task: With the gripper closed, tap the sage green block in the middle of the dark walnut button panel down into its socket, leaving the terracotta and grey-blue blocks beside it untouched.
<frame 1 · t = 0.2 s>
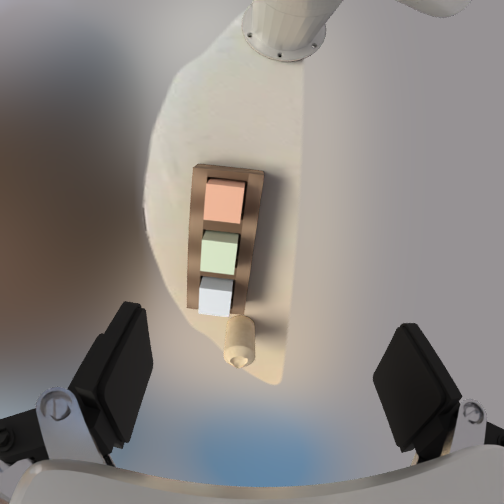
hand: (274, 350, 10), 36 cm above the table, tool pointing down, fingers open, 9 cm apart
button panel: (222, 239, 47), on the table
sage button: (219, 251, 43), point 5 cm above the table, slide at 0.0 cm
terracotta button: (224, 199, 39), point 5 cm above the table, slide at 0.0 cm
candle: (240, 325, 55), on the table
greyblue button: (216, 295, 46), point 5 cm above the table, slide at 0.0 cm
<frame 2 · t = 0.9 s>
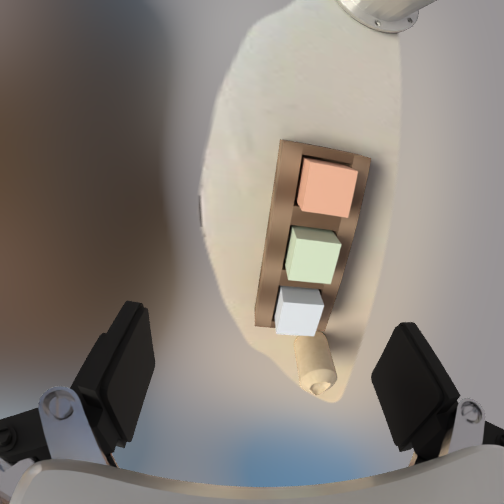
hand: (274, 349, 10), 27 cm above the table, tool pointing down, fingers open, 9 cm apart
button panel: (304, 237, 37), on the table
sage button: (311, 253, 32), point 5 cm above the table, slide at 0.0 cm
terracotta button: (325, 186, 29), point 5 cm above the table, slide at 0.0 cm
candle: (310, 341, 45), on the table
greyblue button: (297, 309, 36), point 5 cm above the table, slide at 0.0 cm
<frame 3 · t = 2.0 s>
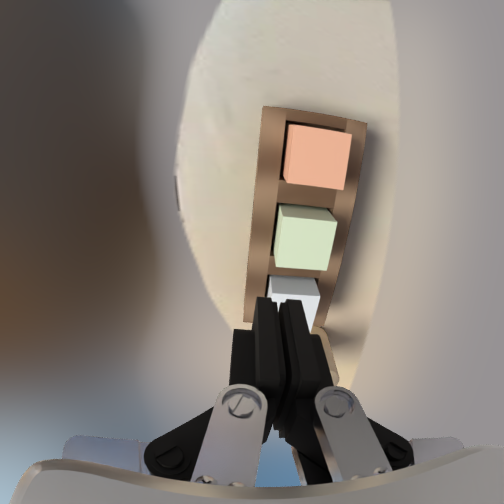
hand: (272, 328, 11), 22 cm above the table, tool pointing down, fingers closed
button panel: (296, 219, 32), on the table
sage button: (302, 235, 28), point 5 cm above the table, slide at 0.0 cm
terracotta button: (314, 154, 24), point 5 cm above the table, slide at 0.0 cm
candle: (308, 338, 40), on the table
greyblue button: (290, 301, 31), point 5 cm above the table, slide at 0.0 cm
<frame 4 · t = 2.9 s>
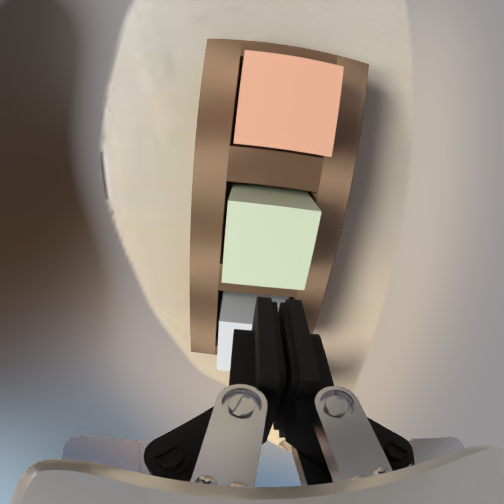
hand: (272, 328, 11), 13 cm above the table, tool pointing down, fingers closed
button panel: (264, 210, 22), on the table
sage button: (267, 233, 18), point 5 cm above the table, slide at 0.0 cm
terracotta button: (285, 104, 14), point 5 cm above the table, slide at 0.0 cm
greyblue button: (252, 330, 21), point 5 cm above the table, slide at 0.0 cm
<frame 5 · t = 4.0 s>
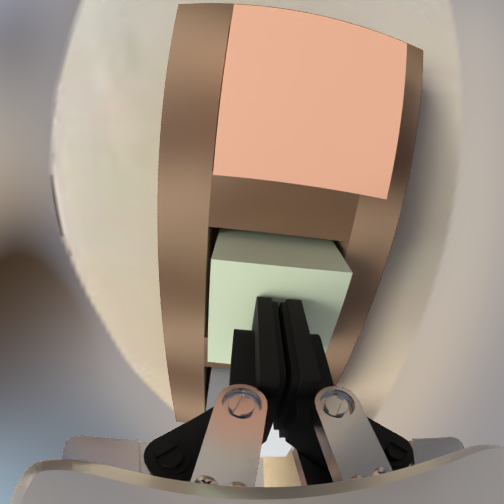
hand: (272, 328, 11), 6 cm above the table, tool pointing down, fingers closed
button panel: (266, 256, 16), on the table
sage button: (270, 292, 13), point 4 cm above the table, slide at 1.0 cm, touching gripper
terracotta button: (303, 102, 8), point 5 cm above the table, slide at 0.0 cm
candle: (290, 422, 24), on the table
greyblue button: (251, 409, 15), point 5 cm above the table, slide at 0.0 cm
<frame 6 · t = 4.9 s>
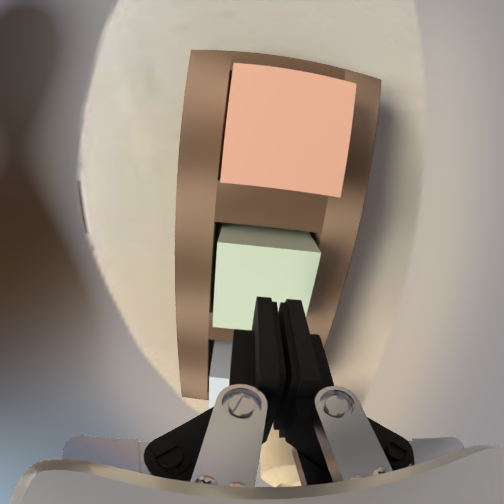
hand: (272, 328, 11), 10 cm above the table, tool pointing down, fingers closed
button panel: (259, 248, 20), on the table
sage button: (261, 272, 16), point 4 cm above the table, slide at 1.1 cm
terracotta button: (283, 129, 12), point 5 cm above the table, slide at 0.0 cm
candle: (284, 406, 27), on the table
greyblue button: (247, 379, 18), point 5 cm above the table, slide at 0.0 cm
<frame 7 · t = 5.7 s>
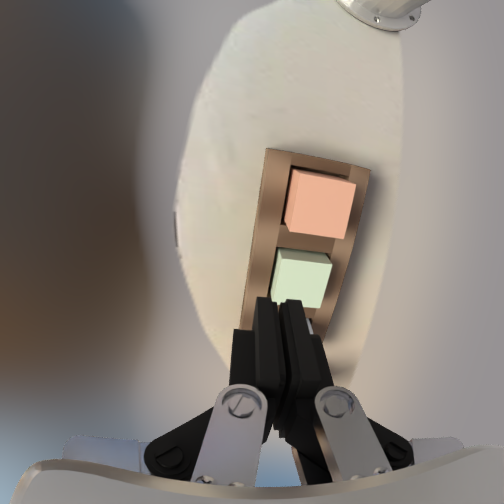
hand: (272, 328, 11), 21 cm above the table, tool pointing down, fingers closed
button panel: (293, 260, 33), on the table
sage button: (298, 274, 29), point 4 cm above the table, slide at 1.1 cm
terracotta button: (317, 201, 25), point 5 cm above the table, slide at 0.0 cm
greyblue button: (284, 340, 31), point 5 cm above the table, slide at 0.0 cm
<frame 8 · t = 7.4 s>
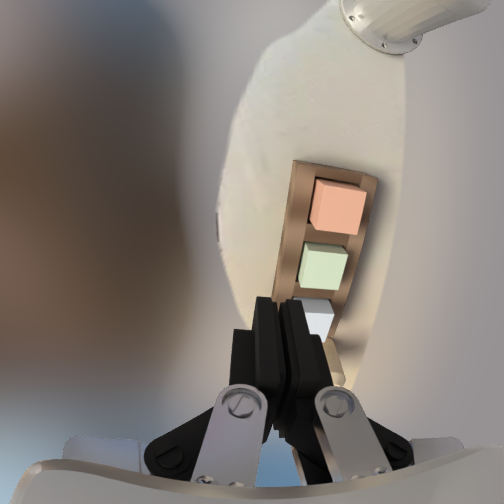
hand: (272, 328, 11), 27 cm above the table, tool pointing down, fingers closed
button panel: (314, 251, 39), on the table
sage button: (320, 263, 36), point 4 cm above the table, slide at 1.1 cm
terracotta button: (335, 205, 31), point 5 cm above the table, slide at 0.0 cm
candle: (318, 346, 47), on the table
greyblue button: (309, 317, 38), point 5 cm above the table, slide at 0.0 cm
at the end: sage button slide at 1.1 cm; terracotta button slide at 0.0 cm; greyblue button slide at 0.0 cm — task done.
